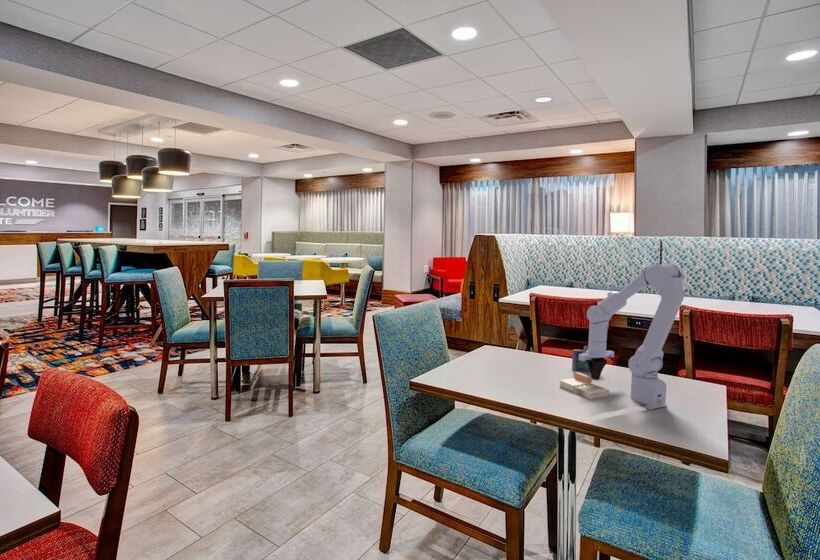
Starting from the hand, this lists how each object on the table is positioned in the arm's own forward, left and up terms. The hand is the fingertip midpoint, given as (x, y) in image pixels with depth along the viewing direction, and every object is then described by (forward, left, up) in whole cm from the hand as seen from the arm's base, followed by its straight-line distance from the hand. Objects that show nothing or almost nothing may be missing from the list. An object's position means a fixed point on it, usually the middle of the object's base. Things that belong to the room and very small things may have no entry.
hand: (595, 379), depth 158 cm
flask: (+13, -9, -3) cm, 17 cm away
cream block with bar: (0, +9, -2) cm, 9 cm away
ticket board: (-4, +13, -3) cm, 14 cm away
